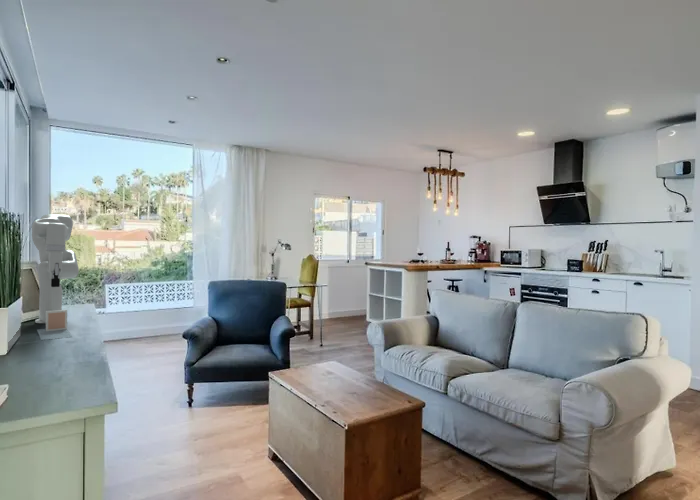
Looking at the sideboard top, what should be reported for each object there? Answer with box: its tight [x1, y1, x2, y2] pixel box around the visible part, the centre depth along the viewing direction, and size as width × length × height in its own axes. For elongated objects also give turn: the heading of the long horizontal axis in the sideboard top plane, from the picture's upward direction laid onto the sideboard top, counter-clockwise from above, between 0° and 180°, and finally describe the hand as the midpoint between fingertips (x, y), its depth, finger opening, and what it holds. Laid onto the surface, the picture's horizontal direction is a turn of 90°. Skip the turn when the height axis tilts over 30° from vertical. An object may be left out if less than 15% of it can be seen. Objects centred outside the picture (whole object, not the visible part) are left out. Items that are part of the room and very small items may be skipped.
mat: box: [36, 328, 73, 341], centre depth 187 cm, size 24×11×1 cm, turn 41°
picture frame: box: [45, 309, 68, 331], centre depth 193 cm, size 2×8×9 cm, turn 131°
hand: (55, 286), depth 198 cm, fingers closed
